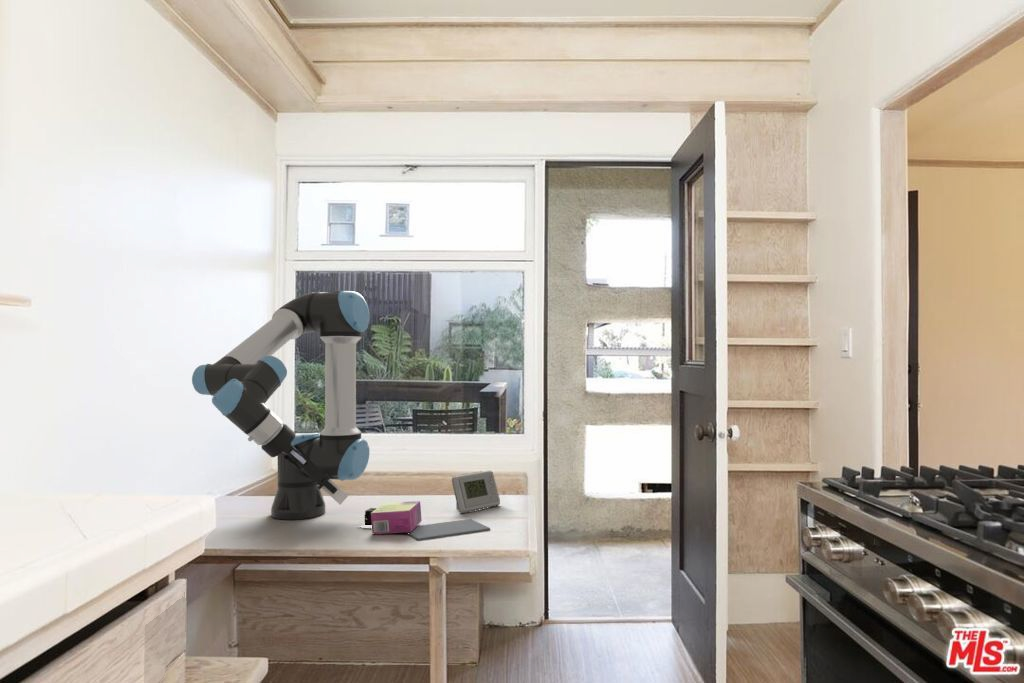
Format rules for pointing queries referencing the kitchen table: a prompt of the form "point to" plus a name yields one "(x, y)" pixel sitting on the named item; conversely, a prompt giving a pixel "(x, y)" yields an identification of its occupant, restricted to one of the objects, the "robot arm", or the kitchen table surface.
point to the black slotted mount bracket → (368, 516)
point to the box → (396, 517)
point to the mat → (447, 529)
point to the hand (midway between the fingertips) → (343, 499)
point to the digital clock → (475, 491)
